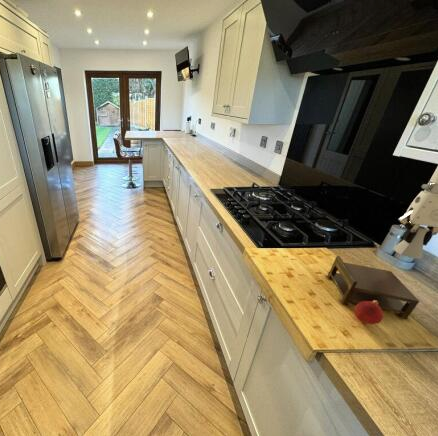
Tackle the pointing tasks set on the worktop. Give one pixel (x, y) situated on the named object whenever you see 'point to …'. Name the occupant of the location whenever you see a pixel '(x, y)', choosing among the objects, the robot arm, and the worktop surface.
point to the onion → (369, 312)
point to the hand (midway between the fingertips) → (414, 241)
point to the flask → (413, 245)
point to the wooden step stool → (372, 287)
